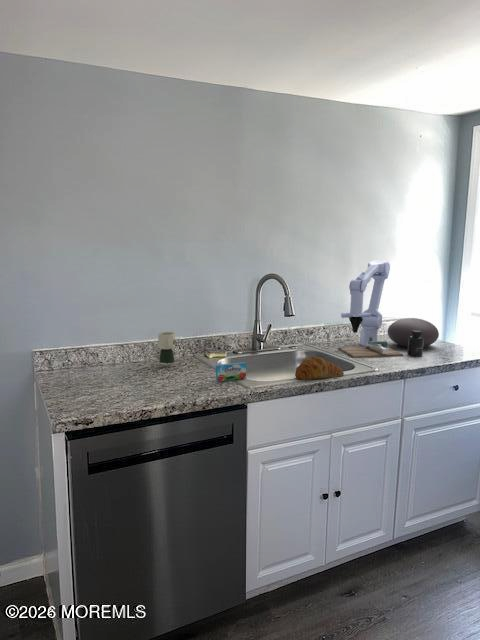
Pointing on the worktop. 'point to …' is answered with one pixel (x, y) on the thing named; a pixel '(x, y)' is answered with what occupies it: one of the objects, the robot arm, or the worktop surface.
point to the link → (377, 347)
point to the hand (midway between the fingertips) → (355, 332)
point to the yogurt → (230, 371)
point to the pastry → (317, 369)
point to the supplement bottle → (415, 344)
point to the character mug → (166, 346)
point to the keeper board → (369, 351)
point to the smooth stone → (404, 327)
